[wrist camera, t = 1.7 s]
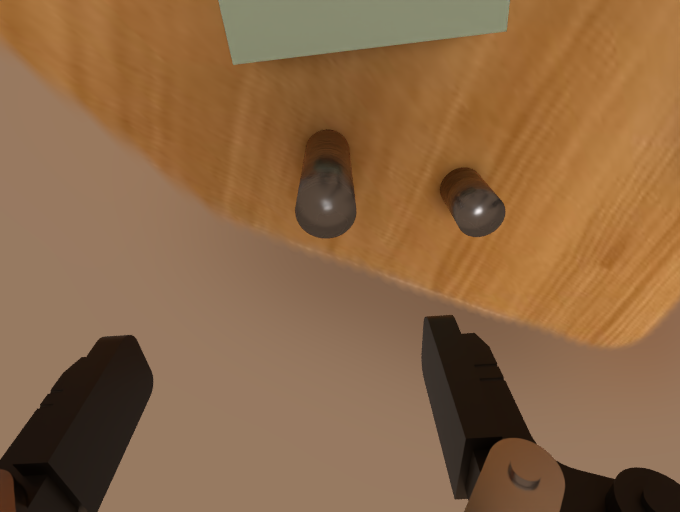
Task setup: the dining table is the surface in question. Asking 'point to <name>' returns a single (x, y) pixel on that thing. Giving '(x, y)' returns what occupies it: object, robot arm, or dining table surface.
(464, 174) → the short pin
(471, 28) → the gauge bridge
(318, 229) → the long pin
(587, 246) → the dining table surface
